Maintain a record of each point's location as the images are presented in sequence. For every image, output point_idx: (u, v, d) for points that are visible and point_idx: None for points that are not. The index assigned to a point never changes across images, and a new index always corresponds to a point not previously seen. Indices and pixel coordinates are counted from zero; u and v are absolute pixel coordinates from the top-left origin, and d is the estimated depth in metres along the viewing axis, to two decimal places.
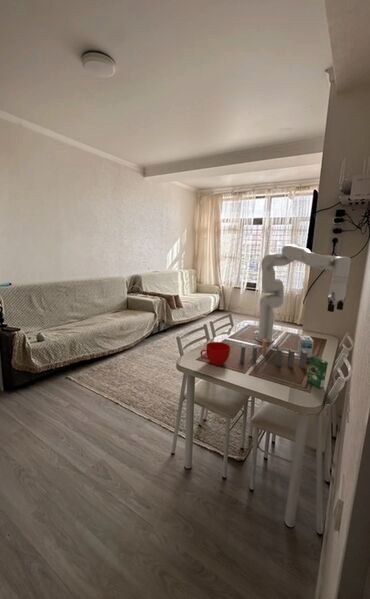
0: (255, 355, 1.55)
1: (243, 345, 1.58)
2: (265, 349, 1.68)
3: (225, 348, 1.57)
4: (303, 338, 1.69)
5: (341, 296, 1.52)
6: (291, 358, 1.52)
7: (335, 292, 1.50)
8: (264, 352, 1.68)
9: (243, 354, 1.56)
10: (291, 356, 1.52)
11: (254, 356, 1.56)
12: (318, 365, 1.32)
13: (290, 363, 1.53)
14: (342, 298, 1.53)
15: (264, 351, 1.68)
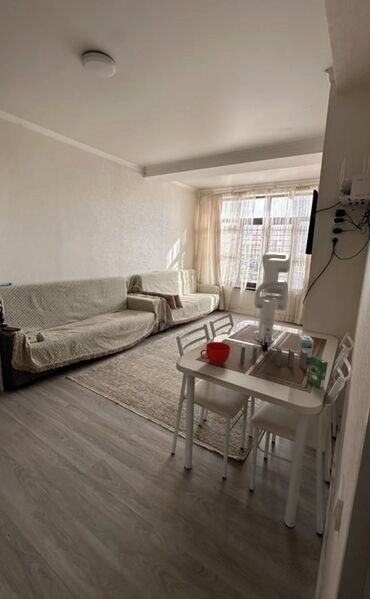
0: (255, 355, 1.55)
1: (243, 345, 1.58)
2: None
3: (225, 348, 1.57)
4: (303, 338, 1.69)
5: None
6: (291, 358, 1.52)
7: None
8: (264, 352, 1.68)
9: (243, 354, 1.56)
10: (291, 356, 1.52)
11: (254, 356, 1.56)
12: (318, 365, 1.32)
13: (290, 363, 1.53)
14: (262, 337, 1.67)
15: None
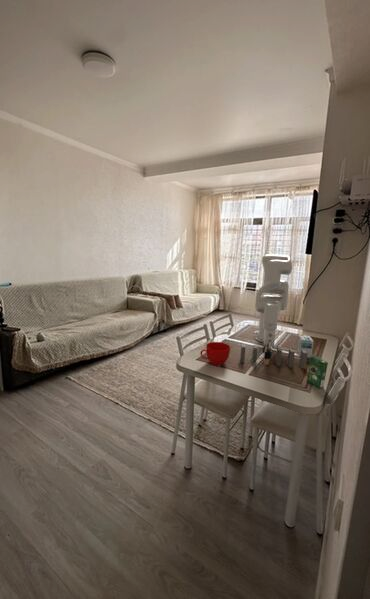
0: (255, 355, 1.55)
1: (243, 345, 1.58)
2: None
3: (225, 348, 1.57)
4: (303, 338, 1.69)
5: (263, 340, 1.56)
6: (291, 358, 1.52)
7: None
8: (266, 361, 1.55)
9: (243, 354, 1.56)
10: (291, 356, 1.52)
11: (254, 356, 1.56)
12: (318, 365, 1.32)
13: (290, 363, 1.53)
14: (264, 343, 1.54)
15: (266, 360, 1.55)
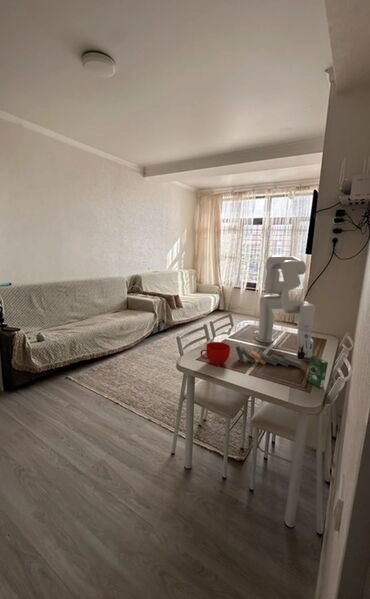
0: (247, 355, 1.56)
1: (237, 345, 1.59)
2: (259, 358, 1.55)
3: (225, 348, 1.57)
4: None
5: (298, 341, 1.53)
6: (278, 361, 1.54)
7: None
8: (261, 361, 1.55)
9: (240, 353, 1.57)
10: (276, 361, 1.54)
11: (248, 357, 1.56)
12: (318, 365, 1.32)
13: (283, 364, 1.54)
14: (299, 345, 1.51)
15: (260, 360, 1.55)
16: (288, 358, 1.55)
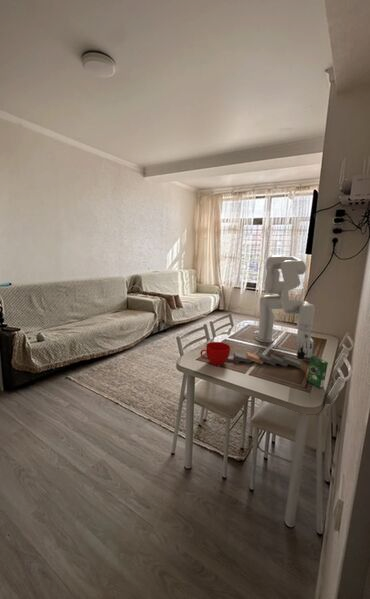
0: (242, 358, 1.56)
1: None
2: (256, 359, 1.56)
3: (225, 348, 1.57)
4: None
5: (297, 341, 1.53)
6: (278, 362, 1.54)
7: None
8: (259, 361, 1.56)
9: (230, 359, 1.58)
10: (276, 361, 1.54)
11: (243, 359, 1.56)
12: (318, 365, 1.32)
13: (283, 364, 1.54)
14: (298, 345, 1.51)
15: (258, 361, 1.56)
16: (288, 358, 1.55)
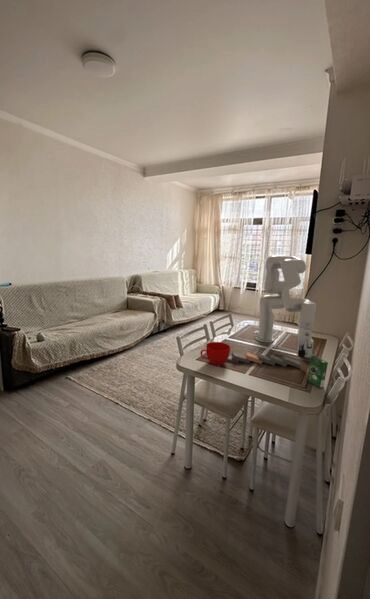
0: (241, 358, 1.56)
1: None
2: (255, 359, 1.56)
3: (225, 348, 1.57)
4: None
5: (299, 339, 1.53)
6: (277, 362, 1.54)
7: None
8: (258, 361, 1.56)
9: (230, 360, 1.57)
10: (275, 361, 1.54)
11: (242, 359, 1.56)
12: (318, 365, 1.32)
13: (282, 364, 1.54)
14: (299, 343, 1.51)
15: (257, 361, 1.56)
16: (287, 358, 1.55)
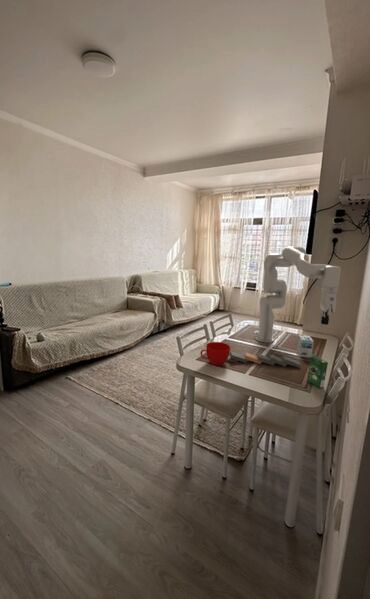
0: (238, 358, 1.56)
1: None
2: (254, 359, 1.56)
3: (225, 348, 1.57)
4: (303, 338, 1.69)
5: (322, 306, 1.48)
6: (277, 362, 1.54)
7: None
8: (257, 361, 1.56)
9: (229, 360, 1.57)
10: (275, 361, 1.54)
11: (239, 359, 1.56)
12: (318, 365, 1.32)
13: (282, 364, 1.54)
14: (323, 309, 1.46)
15: (256, 361, 1.56)
16: (287, 358, 1.55)
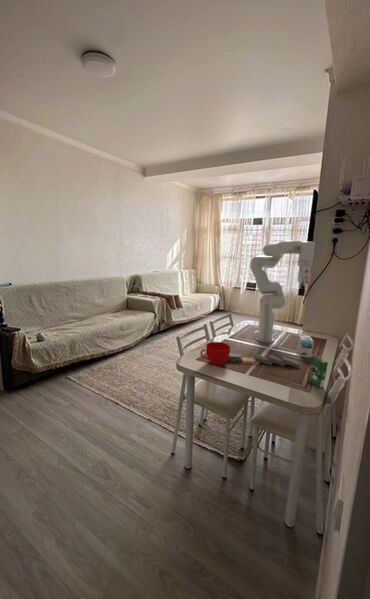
0: (232, 357, 1.57)
1: None
2: (252, 362, 1.56)
3: (225, 348, 1.57)
4: (303, 338, 1.69)
5: (298, 278, 1.62)
6: (275, 361, 1.54)
7: None
8: (255, 363, 1.56)
9: (227, 359, 1.58)
10: (273, 361, 1.55)
11: (233, 358, 1.57)
12: (318, 365, 1.32)
13: (280, 364, 1.54)
14: (299, 281, 1.60)
15: (254, 363, 1.56)
16: (286, 358, 1.55)
